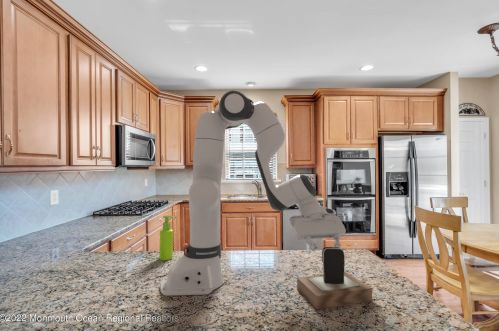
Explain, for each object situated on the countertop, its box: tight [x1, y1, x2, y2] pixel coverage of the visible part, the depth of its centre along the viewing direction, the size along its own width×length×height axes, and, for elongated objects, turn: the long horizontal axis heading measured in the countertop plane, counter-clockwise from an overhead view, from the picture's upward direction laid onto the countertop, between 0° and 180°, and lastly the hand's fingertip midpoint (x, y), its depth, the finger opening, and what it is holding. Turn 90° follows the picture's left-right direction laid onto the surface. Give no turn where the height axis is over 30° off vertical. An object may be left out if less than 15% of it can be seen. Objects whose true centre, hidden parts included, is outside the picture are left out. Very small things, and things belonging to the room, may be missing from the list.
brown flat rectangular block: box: [296, 271, 373, 310], centre depth 81 cm, size 20×13×4 cm, turn 106°
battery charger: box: [321, 246, 346, 284], centre depth 81 cm, size 7×4×11 cm, turn 88°
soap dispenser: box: [158, 215, 176, 261], centre depth 114 cm, size 6×7×20 cm
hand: (326, 248), depth 84 cm, fingers open, 8 cm apart
